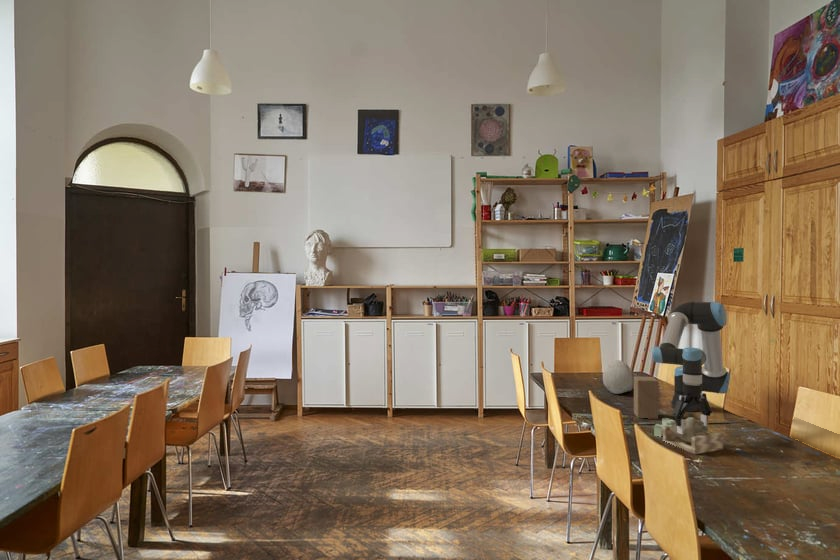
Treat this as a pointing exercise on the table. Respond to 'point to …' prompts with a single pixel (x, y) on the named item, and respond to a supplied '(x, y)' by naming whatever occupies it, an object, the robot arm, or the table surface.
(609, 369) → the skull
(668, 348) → the robot arm
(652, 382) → the wooden block
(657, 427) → the clip
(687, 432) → the lumpy boulder
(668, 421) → the clip
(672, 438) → the cradle
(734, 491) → the table surface
